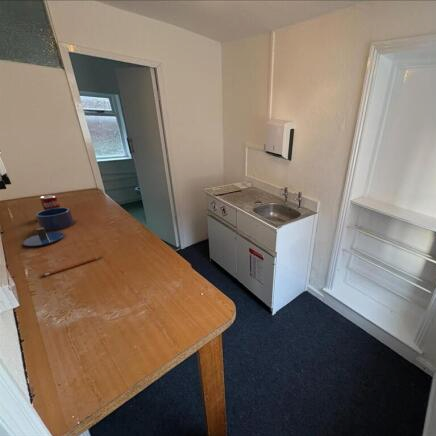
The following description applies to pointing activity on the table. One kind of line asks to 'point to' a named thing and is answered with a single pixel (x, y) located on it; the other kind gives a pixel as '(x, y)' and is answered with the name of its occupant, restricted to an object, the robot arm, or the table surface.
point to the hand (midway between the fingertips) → (4, 186)
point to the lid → (43, 238)
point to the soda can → (49, 202)
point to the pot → (55, 218)
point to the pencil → (69, 267)
